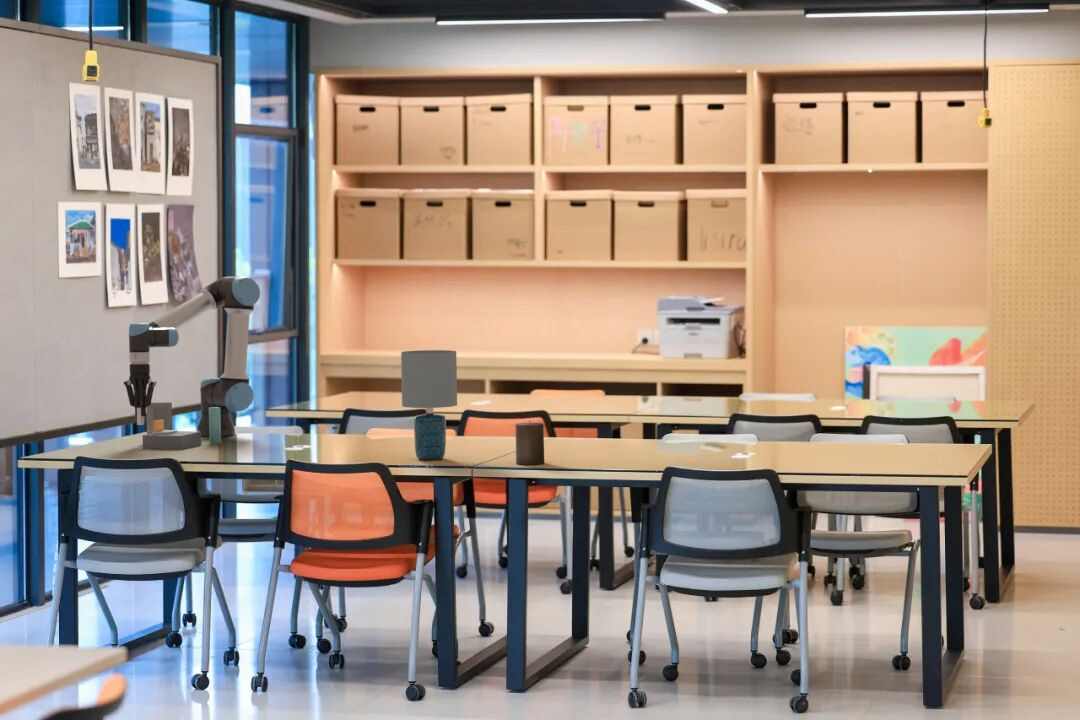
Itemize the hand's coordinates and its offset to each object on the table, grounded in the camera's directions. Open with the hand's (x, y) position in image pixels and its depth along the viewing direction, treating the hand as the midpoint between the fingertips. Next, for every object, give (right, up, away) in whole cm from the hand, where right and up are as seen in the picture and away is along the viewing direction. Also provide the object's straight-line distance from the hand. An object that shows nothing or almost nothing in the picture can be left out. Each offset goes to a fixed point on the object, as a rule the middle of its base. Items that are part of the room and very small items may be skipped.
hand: (140, 424), depth 609 cm
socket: (+13, -8, -3) cm, 15 cm away
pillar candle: (+150, -11, -69) cm, 166 cm away
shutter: (+10, -3, -2) cm, 11 cm away
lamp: (+115, -10, -53) cm, 127 cm away
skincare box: (+4, -8, +14) cm, 16 cm away
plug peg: (+28, -8, +5) cm, 29 cm away
